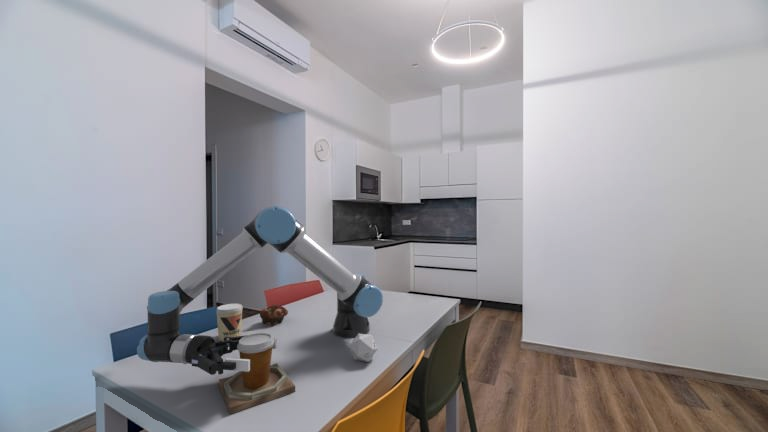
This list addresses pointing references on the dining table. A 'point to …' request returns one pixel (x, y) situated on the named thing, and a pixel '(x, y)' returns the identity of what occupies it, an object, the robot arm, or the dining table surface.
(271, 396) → the cup holder board
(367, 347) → the die
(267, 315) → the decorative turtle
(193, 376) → the dining table surface
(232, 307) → the coffee cup
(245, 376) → the disposable coffee cup
